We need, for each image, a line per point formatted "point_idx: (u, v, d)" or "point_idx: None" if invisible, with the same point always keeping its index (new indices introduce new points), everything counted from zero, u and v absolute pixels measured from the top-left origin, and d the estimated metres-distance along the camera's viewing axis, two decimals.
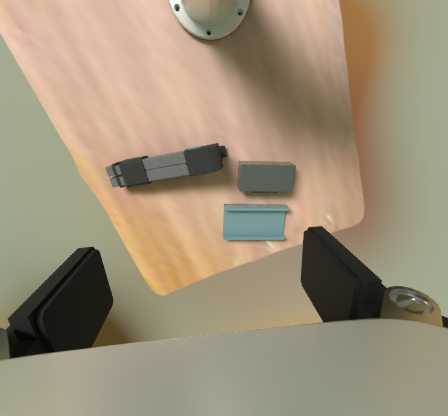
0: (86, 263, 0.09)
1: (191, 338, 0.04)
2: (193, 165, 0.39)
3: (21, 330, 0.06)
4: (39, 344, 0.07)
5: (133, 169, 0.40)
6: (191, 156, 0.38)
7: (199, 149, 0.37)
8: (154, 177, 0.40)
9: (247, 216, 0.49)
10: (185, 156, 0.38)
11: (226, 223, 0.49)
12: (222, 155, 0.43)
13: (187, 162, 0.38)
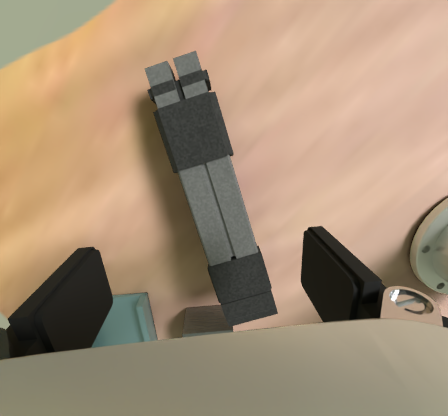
0: (86, 263, 0.09)
1: (191, 338, 0.04)
2: (232, 273, 0.18)
3: (21, 330, 0.06)
4: (39, 344, 0.07)
5: (203, 132, 0.16)
6: (251, 269, 0.18)
7: (267, 285, 0.18)
8: (190, 185, 0.17)
9: (131, 332, 0.27)
10: (249, 257, 0.17)
11: None
12: None
13: (237, 262, 0.18)
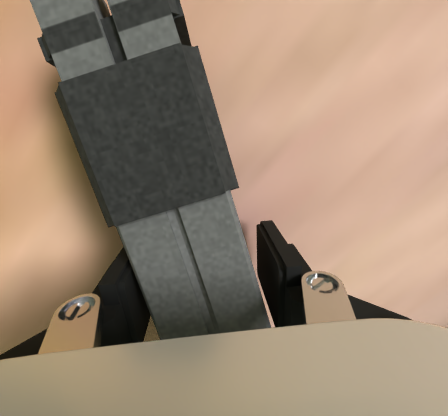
0: None
1: (191, 338, 0.04)
2: None
3: (108, 296, 0.07)
4: (121, 309, 0.08)
5: (170, 141, 0.07)
6: None
7: None
8: (145, 256, 0.08)
9: None
10: None
11: None
12: None
13: None
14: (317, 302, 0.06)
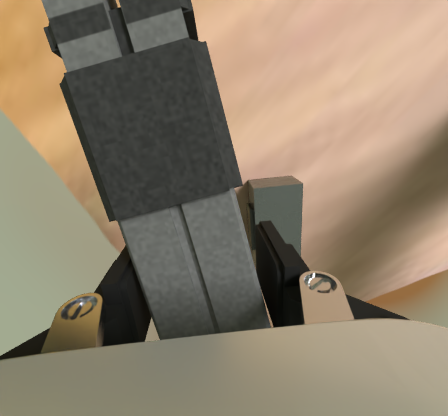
0: None
1: (191, 338, 0.04)
2: None
3: (110, 295, 0.07)
4: (123, 308, 0.08)
5: (175, 137, 0.07)
6: None
7: None
8: (146, 252, 0.08)
9: None
10: None
11: None
12: None
13: None
14: (315, 302, 0.06)
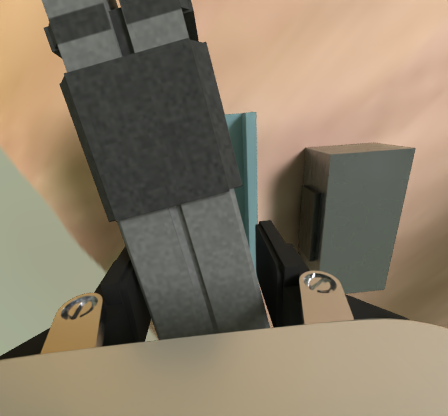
0: None
1: (191, 338, 0.04)
2: None
3: (110, 295, 0.07)
4: (123, 308, 0.08)
5: (175, 137, 0.07)
6: None
7: None
8: (145, 252, 0.08)
9: None
10: None
11: None
12: None
13: None
14: (315, 302, 0.06)
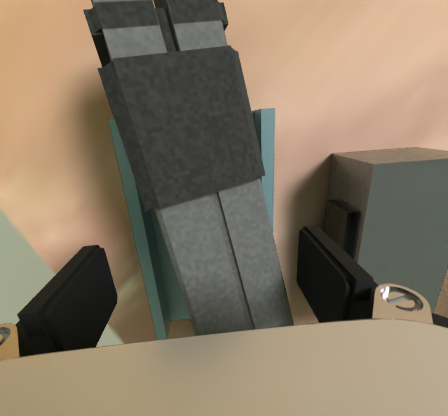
0: (92, 261, 0.09)
1: (191, 338, 0.04)
2: None
3: (30, 326, 0.06)
4: (48, 339, 0.07)
5: (217, 129, 0.08)
6: None
7: None
8: (185, 239, 0.08)
9: None
10: None
11: None
12: None
13: None
14: (389, 316, 0.06)
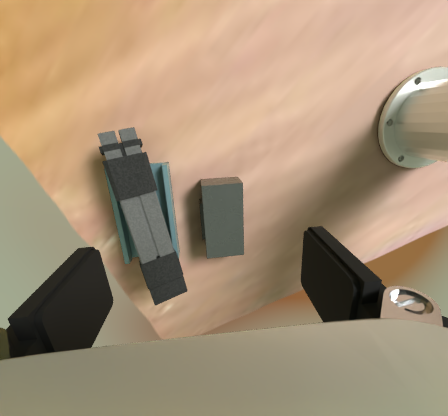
0: (86, 263, 0.09)
1: (191, 338, 0.04)
2: (157, 267, 0.27)
3: (21, 330, 0.06)
4: (39, 344, 0.07)
5: (138, 177, 0.25)
6: (170, 263, 0.27)
7: (180, 272, 0.28)
8: (129, 210, 0.25)
9: None
10: (169, 255, 0.27)
11: None
12: None
13: (160, 259, 0.27)
14: (398, 318, 0.06)
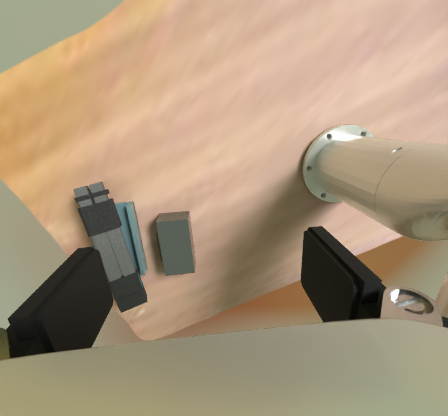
0: (86, 263, 0.09)
1: (191, 338, 0.04)
2: (122, 284, 0.36)
3: (21, 330, 0.06)
4: (39, 344, 0.07)
5: (105, 218, 0.34)
6: (132, 280, 0.36)
7: (140, 287, 0.37)
8: (98, 242, 0.34)
9: (123, 231, 0.40)
10: (130, 275, 0.36)
11: None
12: None
13: (124, 278, 0.36)
14: (397, 319, 0.06)
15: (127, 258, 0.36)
